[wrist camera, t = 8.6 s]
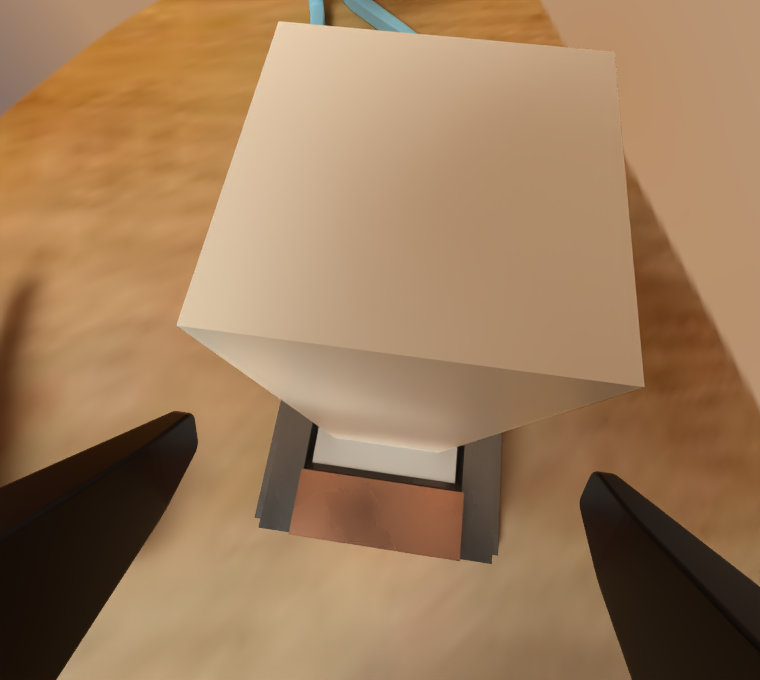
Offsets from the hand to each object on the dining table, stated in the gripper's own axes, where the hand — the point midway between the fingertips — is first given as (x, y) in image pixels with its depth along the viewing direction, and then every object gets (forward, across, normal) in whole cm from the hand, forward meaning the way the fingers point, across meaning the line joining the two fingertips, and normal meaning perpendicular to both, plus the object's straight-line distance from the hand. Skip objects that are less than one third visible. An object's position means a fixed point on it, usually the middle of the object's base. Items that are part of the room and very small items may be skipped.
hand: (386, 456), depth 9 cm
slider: (+8, 0, +4) cm, 9 cm away
